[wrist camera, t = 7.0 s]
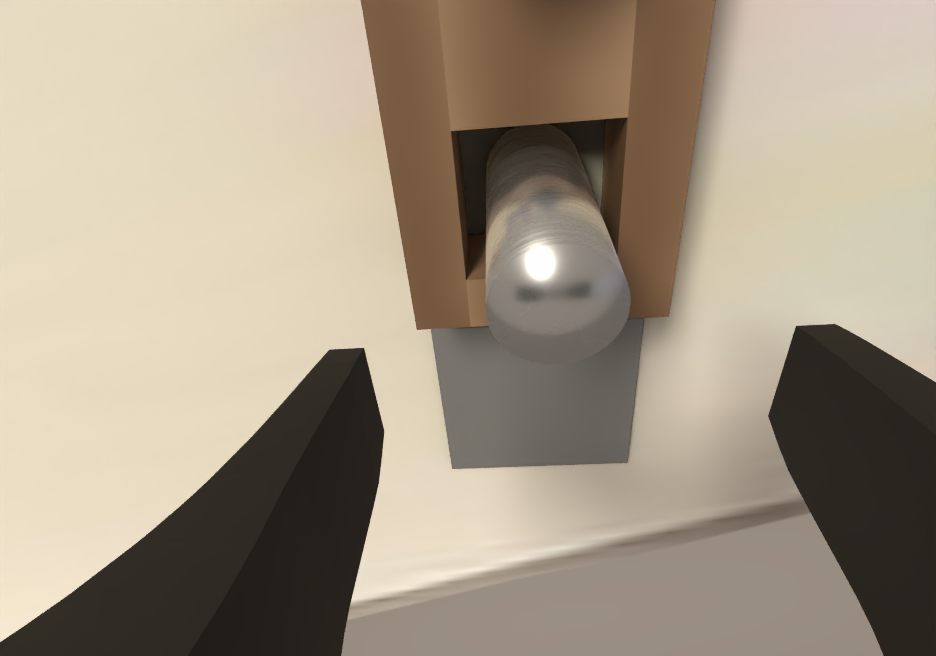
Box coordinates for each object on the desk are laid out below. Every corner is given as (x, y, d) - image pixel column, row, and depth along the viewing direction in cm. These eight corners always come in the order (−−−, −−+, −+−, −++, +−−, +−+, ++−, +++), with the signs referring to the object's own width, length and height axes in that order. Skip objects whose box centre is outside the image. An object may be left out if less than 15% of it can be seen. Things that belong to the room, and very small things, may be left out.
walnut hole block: (728, -451, 11) (796, -553, 9) (647, 267, 20) (668, 316, 18) (323, -392, 12) (280, -472, 9) (424, 281, 21) (416, 329, 19)
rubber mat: (642, 314, 22) (643, 318, 21) (626, 457, 26) (627, 462, 26) (431, 325, 22) (431, 330, 22) (452, 463, 27) (452, 468, 27)
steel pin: (581, 118, 17) (636, 240, 11) (578, 210, 19) (625, 361, 13) (482, 126, 18) (480, 250, 11) (489, 216, 19) (490, 367, 13)
